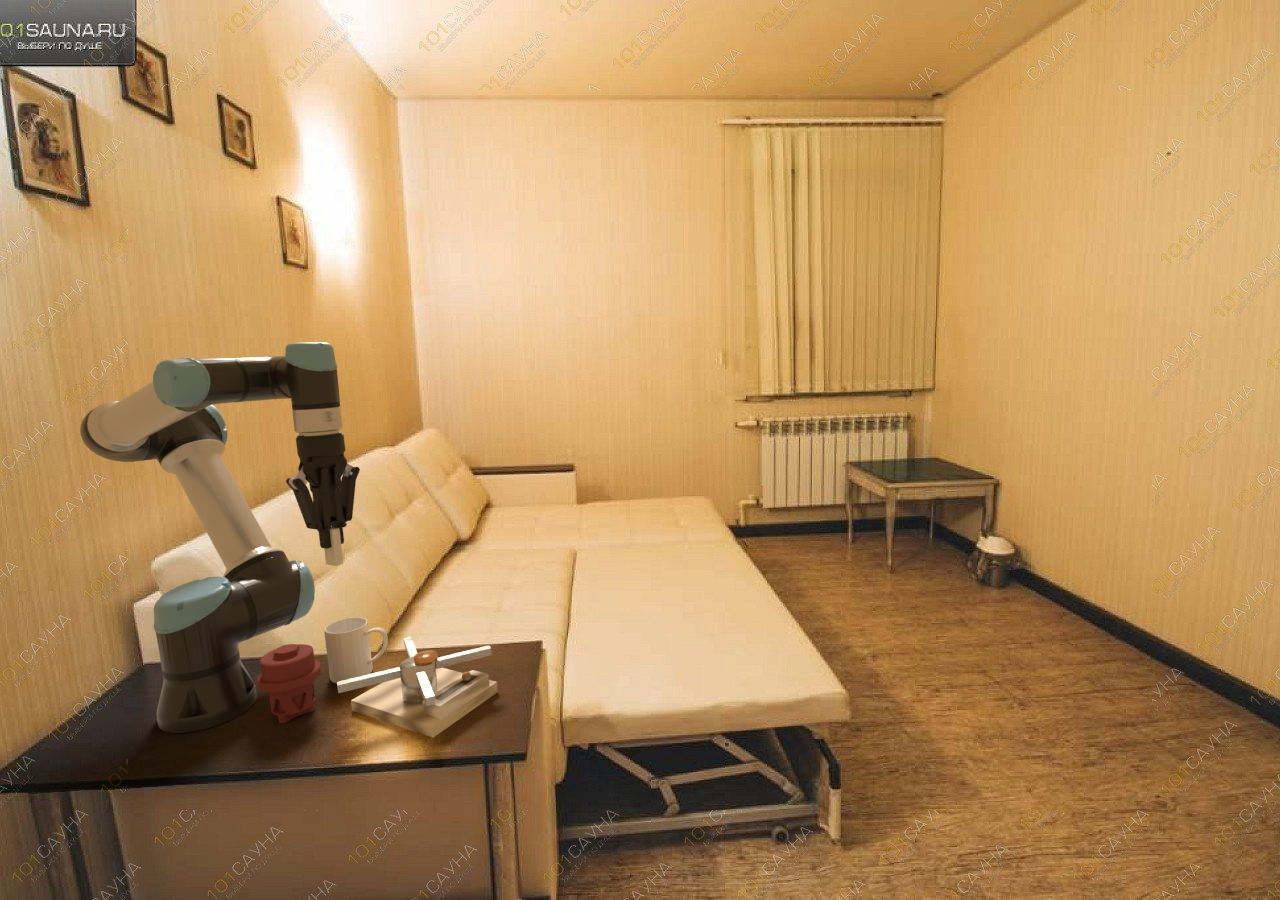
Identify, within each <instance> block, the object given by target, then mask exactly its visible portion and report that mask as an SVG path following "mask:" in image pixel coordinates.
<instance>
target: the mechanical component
mask: <svg viewBox="0 0 1280 900" xmlns="http://www.w3.org/2000/svg"><path fill="white" fill-rule="evenodd" d="M314 653H315V652H314V647H313V646H311V645H310V644H303V643H302V644H301V643H300V644H299V643H289V644H284V645H282V646H281V645H280V646H278V647H277V648H275V649H272V650H271V651H268V652H267V653H266V654H264V655H263V656H261V658H260V660H259V665H260V673H259V674H258V675H257V677H256V684H257V685H256V686H257V689H259V690H260V691H261V692H263V693H268V697H269V705H270V712H271V714H273V715H275V716H277V718H278V722H279V724H286V723H288V722H289V721H291V720H293V719H295V718H296V717H299V716H302V715H304V714H307V713H308V714H309V713H311V712H314V710H315V709H316V703H315V702H316V697H315V696H316V695H315V687H314V685H315V684H314V681H315V680H316V679H317V678H319V676H320V675H321V673H322V667H321V662H320V661H319V660H317V659H315V654H314Z"/></svg>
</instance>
